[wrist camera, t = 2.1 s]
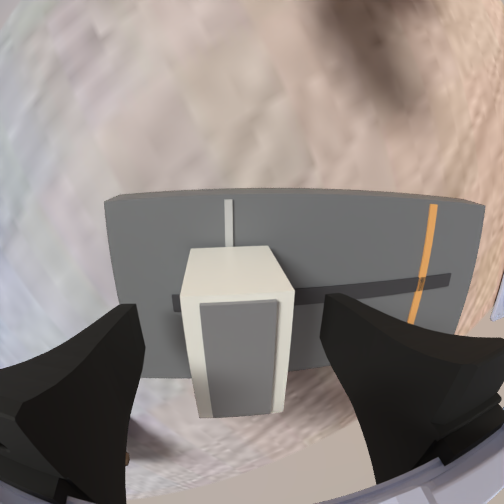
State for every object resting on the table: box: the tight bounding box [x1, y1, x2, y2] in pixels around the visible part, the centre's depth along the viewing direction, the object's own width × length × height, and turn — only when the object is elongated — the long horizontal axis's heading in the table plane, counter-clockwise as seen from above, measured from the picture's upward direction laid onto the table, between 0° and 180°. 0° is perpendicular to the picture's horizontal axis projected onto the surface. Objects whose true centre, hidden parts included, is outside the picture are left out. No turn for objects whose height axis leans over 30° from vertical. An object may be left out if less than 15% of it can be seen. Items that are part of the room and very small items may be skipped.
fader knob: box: [180, 246, 295, 418], centre depth 10 cm, size 3×5×4 cm, turn 0°
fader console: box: [104, 188, 485, 378], centre depth 14 cm, size 20×9×2 cm, turn 90°
